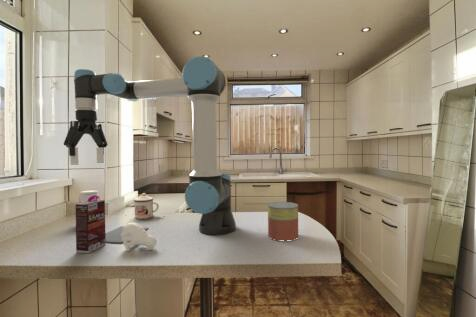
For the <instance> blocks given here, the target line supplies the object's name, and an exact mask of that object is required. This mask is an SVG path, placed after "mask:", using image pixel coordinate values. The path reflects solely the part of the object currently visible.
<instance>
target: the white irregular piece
mask: <svg viewBox="0 0 476 317" xmlns="http://www.w3.org/2000/svg"><path fill="white" fill-rule="evenodd" d="M144 228H145V227H144ZM144 228H143V226H142V225H140V224H139V223H137V222H128V223H126V224H125V225H124V227H123V229H122V233H121V238H122V241H123V242H124V243H123V246H124V248H125V251H126V252H129V251H130V250H131V248H132V247H138V246H144V247H145V248H144V249H145V250H147V251H148V250H150V251H152V250H154V248H155V247H156V246H157V238H156V237H154V236H152V235H150V234H149V232H147V230H146V231H145V230H144Z"/></svg>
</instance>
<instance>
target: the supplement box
mask: <svg viewBox="0 0 476 317" xmlns="http://www.w3.org/2000/svg"><path fill="white" fill-rule="evenodd" d="M105 201H106V200H104V199H102V200H101V199H100V200H93V201H88V202H84V203H80V204H79V203H77V204H75V249H76V251H75V252H76V253H77V254H90V253H91V252H94V251H95V250H97V249H100V248H103V247H104V246H106V244H107V243H106V237H105V233H106V204H105V203H106V202H105Z"/></svg>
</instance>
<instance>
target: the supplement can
mask: <svg viewBox="0 0 476 317" xmlns="http://www.w3.org/2000/svg"><path fill="white" fill-rule="evenodd" d="M93 200H101V199H100V192H99V191H98V190H97V189H90V190H82V191H80V193H79V194H78V204H80V203H84V202H88V201H93Z"/></svg>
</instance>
